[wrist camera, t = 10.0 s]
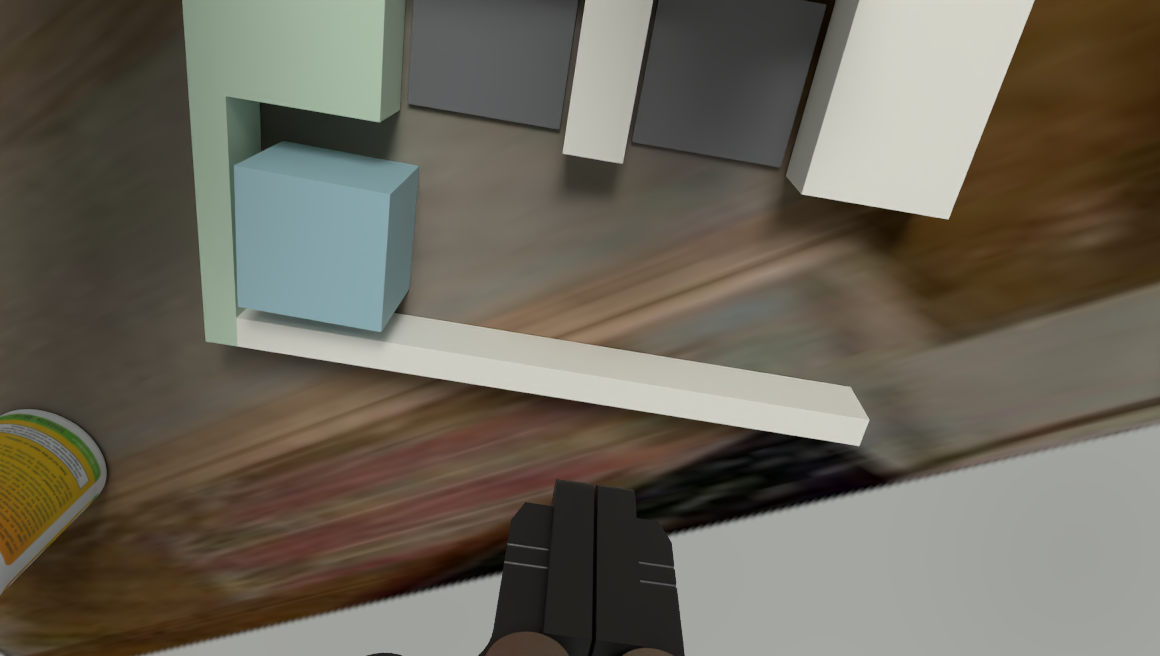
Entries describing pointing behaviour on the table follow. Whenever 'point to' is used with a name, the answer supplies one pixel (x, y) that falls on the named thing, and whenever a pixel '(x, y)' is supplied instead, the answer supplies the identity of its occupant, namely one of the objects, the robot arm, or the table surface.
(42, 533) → the supplement bottle
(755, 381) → the trap lane
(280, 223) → the push block
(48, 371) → the table surface
